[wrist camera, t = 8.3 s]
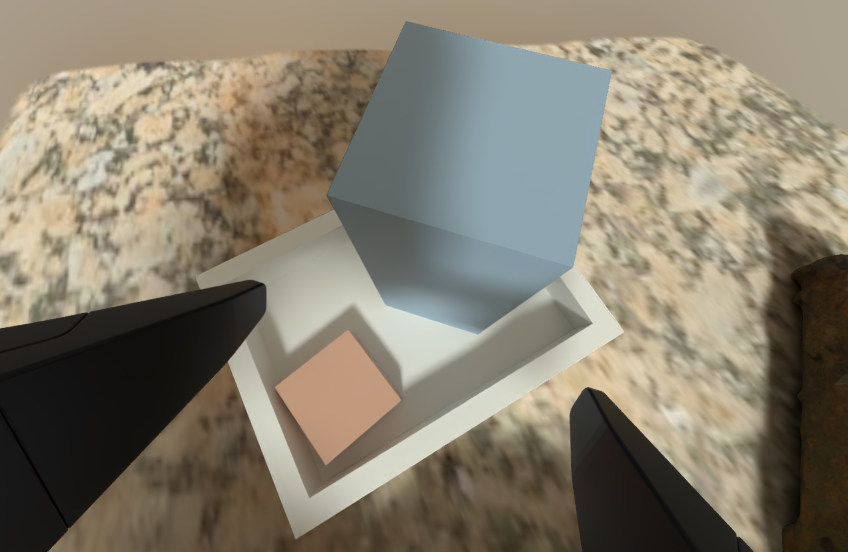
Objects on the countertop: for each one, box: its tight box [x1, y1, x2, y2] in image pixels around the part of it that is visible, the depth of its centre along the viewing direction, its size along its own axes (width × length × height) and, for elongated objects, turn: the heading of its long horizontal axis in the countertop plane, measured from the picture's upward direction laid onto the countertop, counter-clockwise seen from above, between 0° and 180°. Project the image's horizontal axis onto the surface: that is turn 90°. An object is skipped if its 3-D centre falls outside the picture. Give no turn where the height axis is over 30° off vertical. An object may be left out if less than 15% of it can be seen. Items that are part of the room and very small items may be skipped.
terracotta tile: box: [275, 330, 403, 465], centre depth 15 cm, size 4×4×2 cm
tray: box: [195, 209, 624, 539], centre depth 17 cm, size 16×12×3 cm
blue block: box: [327, 22, 612, 334], centre depth 12 cm, size 5×5×11 cm
